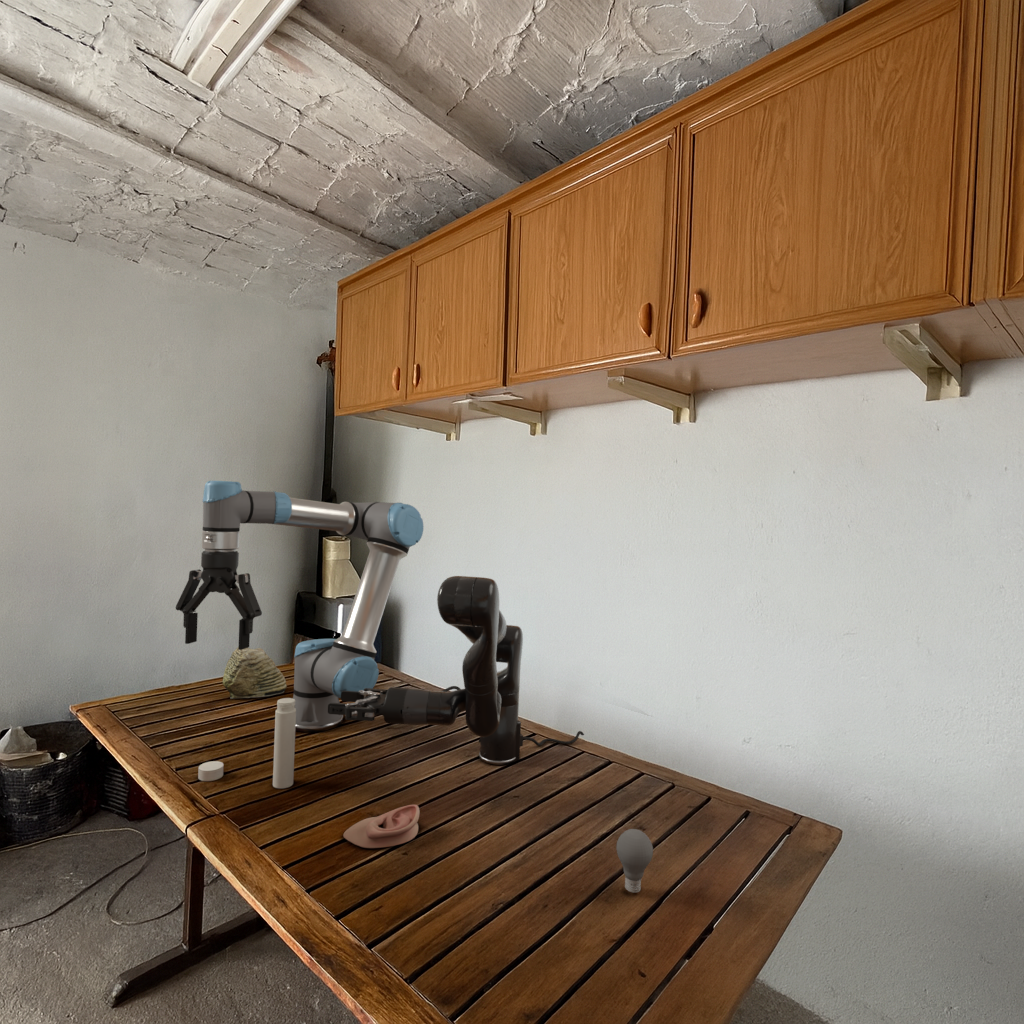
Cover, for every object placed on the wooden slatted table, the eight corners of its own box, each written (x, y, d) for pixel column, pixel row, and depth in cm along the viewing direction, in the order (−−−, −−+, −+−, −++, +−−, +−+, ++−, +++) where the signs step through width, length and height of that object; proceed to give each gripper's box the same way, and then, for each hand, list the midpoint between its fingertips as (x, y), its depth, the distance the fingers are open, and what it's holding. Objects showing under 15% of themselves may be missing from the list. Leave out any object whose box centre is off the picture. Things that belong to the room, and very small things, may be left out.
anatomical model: (336, 822, 116) (363, 794, 127) (335, 843, 116) (362, 813, 127) (404, 832, 113) (426, 803, 124) (403, 854, 113) (425, 823, 124)
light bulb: (610, 879, 108) (613, 822, 108) (644, 879, 109) (647, 822, 109) (619, 902, 102) (622, 840, 102) (655, 901, 103) (658, 840, 103)
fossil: (218, 695, 195) (220, 647, 195) (278, 685, 208) (279, 640, 207) (228, 703, 189) (230, 653, 188) (289, 692, 201) (290, 645, 201)
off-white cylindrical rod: (287, 789, 136) (290, 704, 136) (269, 787, 137) (272, 702, 137) (296, 780, 141) (299, 698, 140) (278, 779, 141) (281, 696, 141)
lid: (217, 769, 145) (217, 759, 145) (227, 776, 141) (227, 766, 141) (194, 776, 141) (194, 765, 141) (204, 783, 138) (204, 772, 137)
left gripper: (159, 547, 140) (156, 643, 140) (259, 555, 134) (255, 654, 134) (184, 545, 147) (181, 636, 147) (280, 552, 141) (276, 647, 142)
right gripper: (415, 679, 144) (345, 675, 145) (402, 699, 130) (324, 694, 131) (414, 712, 144) (344, 708, 145) (400, 735, 130) (322, 730, 131)
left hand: (217, 645), depth 141 cm, fingers open, 13 cm apart
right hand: (335, 701), depth 138 cm, fingers open, 8 cm apart
